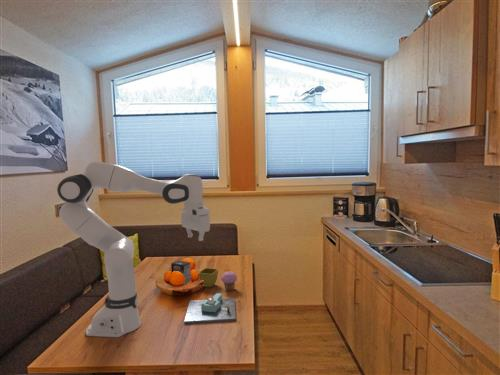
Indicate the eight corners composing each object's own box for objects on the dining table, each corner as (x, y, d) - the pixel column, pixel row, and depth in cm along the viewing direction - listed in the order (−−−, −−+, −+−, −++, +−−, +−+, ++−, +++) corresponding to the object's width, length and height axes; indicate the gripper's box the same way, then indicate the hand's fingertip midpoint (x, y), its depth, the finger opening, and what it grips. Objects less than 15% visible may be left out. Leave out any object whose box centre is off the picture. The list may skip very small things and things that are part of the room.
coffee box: (171, 291, 183) (170, 263, 182) (179, 287, 189) (178, 259, 187) (184, 293, 179) (183, 265, 177) (191, 289, 184) (190, 261, 183)
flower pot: (212, 289, 184) (211, 273, 183) (198, 287, 187) (198, 272, 186) (218, 283, 192) (218, 268, 192) (205, 282, 195) (205, 267, 194)
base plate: (184, 323, 145) (183, 310, 145) (189, 302, 167) (189, 291, 167) (235, 321, 147) (235, 307, 146) (234, 300, 169) (234, 288, 168)
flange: (215, 312, 153) (214, 305, 152) (201, 310, 155) (201, 304, 154) (225, 299, 166) (225, 293, 166) (213, 298, 168) (213, 292, 168)
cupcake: (222, 293, 178) (222, 275, 178) (220, 287, 187) (220, 270, 186) (238, 291, 180) (238, 274, 179) (236, 285, 189) (235, 268, 188)
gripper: (177, 208, 155) (178, 236, 156) (199, 212, 139) (201, 244, 140) (188, 206, 159) (190, 234, 160) (211, 210, 143) (213, 241, 144)
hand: (195, 238), depth 150 cm, fingers open, 8 cm apart
